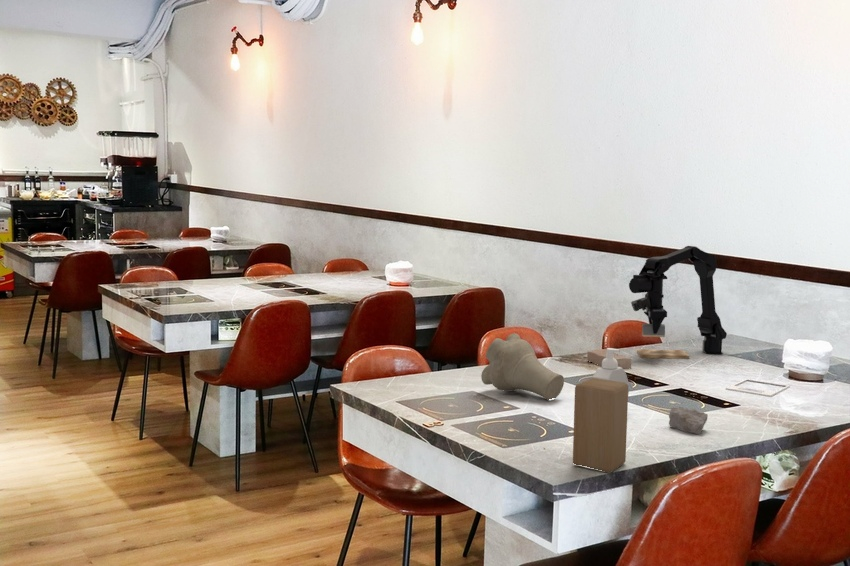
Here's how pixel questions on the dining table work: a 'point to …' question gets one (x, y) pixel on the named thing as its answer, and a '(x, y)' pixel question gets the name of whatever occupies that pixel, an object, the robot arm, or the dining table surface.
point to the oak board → (662, 354)
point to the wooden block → (600, 424)
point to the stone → (687, 420)
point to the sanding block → (648, 331)
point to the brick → (600, 354)
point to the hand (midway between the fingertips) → (653, 332)
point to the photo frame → (755, 391)
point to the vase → (519, 369)
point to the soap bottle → (611, 369)
